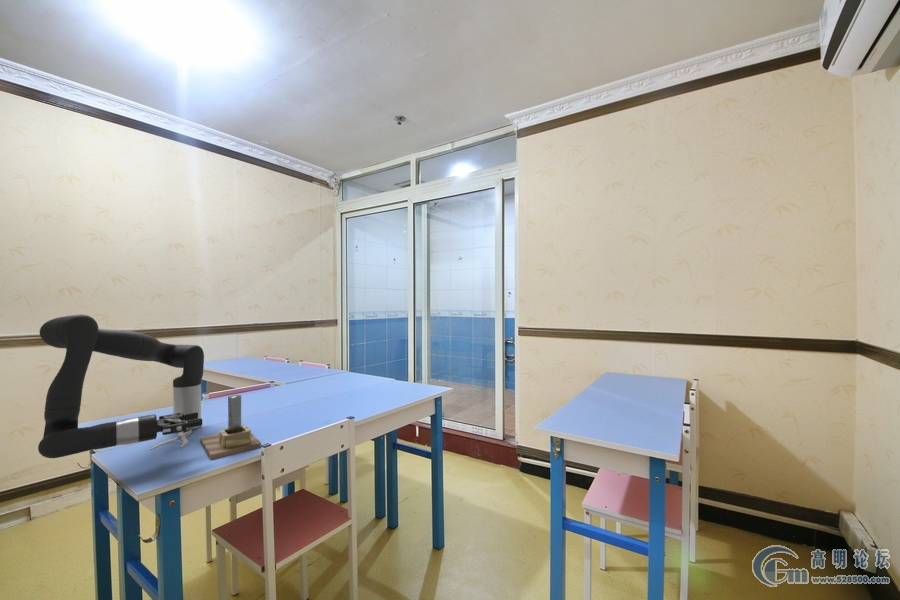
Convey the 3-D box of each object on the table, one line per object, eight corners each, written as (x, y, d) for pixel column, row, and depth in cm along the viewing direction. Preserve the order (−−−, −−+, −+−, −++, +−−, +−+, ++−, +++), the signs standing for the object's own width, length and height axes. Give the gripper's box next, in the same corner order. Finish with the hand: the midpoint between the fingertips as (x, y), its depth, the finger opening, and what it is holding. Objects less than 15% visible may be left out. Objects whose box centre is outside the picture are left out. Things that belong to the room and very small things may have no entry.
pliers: (149, 446, 128) (172, 431, 143) (149, 451, 128) (172, 435, 143) (181, 444, 130) (201, 429, 145) (182, 448, 130) (201, 433, 145)
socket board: (200, 441, 136) (200, 426, 135) (246, 431, 146) (246, 417, 145) (210, 459, 121) (210, 442, 121) (260, 447, 131) (260, 431, 131)
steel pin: (227, 441, 132) (227, 396, 131) (239, 438, 134) (239, 394, 134) (229, 445, 129) (229, 398, 128) (242, 442, 131) (242, 396, 131)
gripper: (137, 423, 108) (203, 412, 119) (135, 412, 119) (196, 402, 130) (137, 449, 108) (203, 435, 119) (135, 435, 119) (196, 424, 130)
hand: (199, 418), depth 124 cm, fingers open, 8 cm apart
